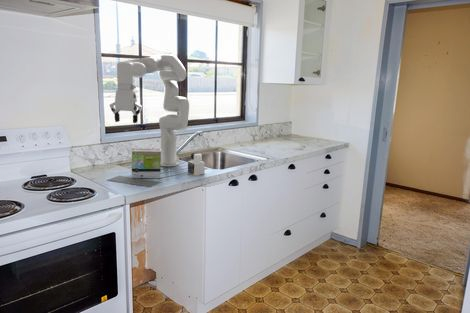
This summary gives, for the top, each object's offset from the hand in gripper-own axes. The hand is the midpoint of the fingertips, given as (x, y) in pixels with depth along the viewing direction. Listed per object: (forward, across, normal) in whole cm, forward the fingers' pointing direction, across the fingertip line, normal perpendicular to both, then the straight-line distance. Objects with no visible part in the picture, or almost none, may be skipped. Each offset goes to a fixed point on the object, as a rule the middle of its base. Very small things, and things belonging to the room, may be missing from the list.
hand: (126, 122), depth 183 cm
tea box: (+31, -5, -11) cm, 33 cm away
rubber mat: (+31, -4, 0) cm, 31 cm away
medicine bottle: (+31, -29, -27) cm, 50 cm away
